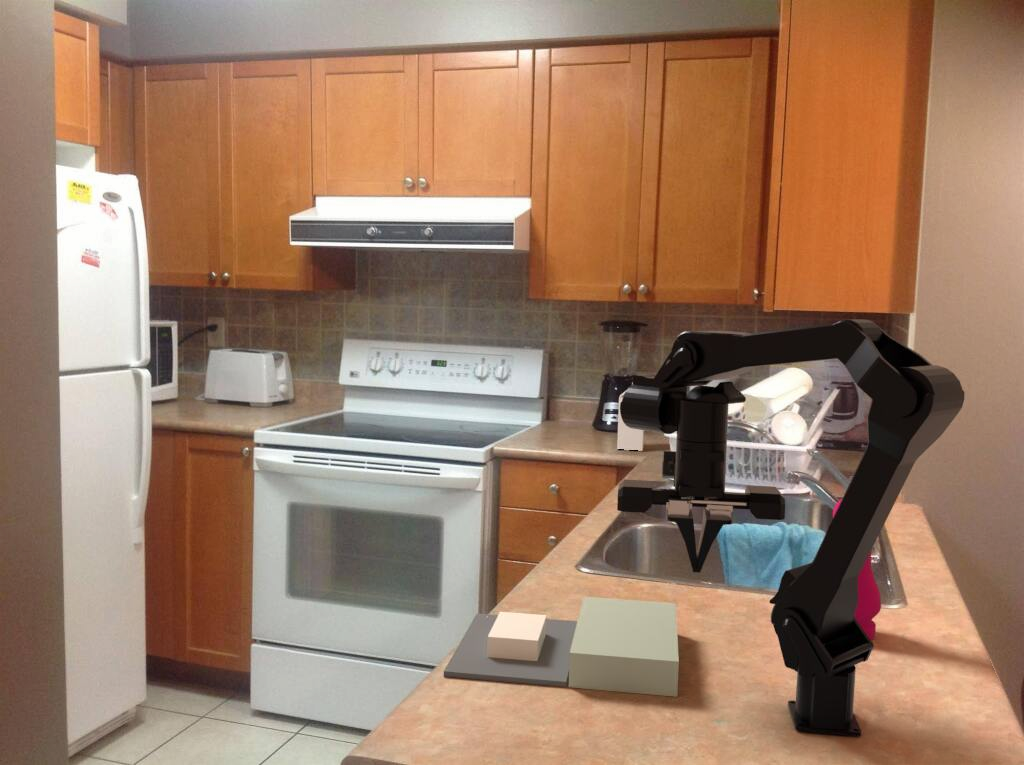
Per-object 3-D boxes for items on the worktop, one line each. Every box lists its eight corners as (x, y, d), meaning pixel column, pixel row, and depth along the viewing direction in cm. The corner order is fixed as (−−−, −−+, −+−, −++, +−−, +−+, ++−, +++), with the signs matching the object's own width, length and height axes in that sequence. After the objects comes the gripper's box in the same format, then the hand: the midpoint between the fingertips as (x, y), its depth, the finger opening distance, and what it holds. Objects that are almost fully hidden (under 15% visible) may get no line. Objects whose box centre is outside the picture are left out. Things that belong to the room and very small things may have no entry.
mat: (565, 687, 107) (566, 681, 106) (443, 676, 109) (443, 671, 109) (580, 625, 126) (580, 621, 126) (476, 617, 128) (476, 613, 128)
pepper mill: (837, 620, 131) (845, 477, 129) (888, 634, 126) (898, 485, 124) (811, 632, 126) (819, 483, 124) (863, 648, 121) (873, 493, 119)
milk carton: (617, 450, 268) (619, 383, 266) (618, 446, 275) (620, 381, 273) (642, 451, 267) (645, 384, 265) (643, 447, 273) (645, 382, 272)
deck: (677, 696, 105) (678, 661, 104) (568, 687, 107) (569, 652, 106) (674, 633, 124) (675, 603, 124) (582, 625, 126) (583, 596, 126)
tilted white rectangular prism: (487, 636, 113) (487, 657, 113) (537, 640, 112) (537, 661, 112) (499, 611, 122) (499, 630, 122) (546, 615, 121) (545, 634, 121)
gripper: (776, 433, 116) (770, 558, 118) (622, 426, 119) (618, 549, 120) (788, 447, 105) (782, 584, 107) (619, 439, 108) (615, 574, 109)
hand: (696, 571), depth 111 cm, fingers closed
